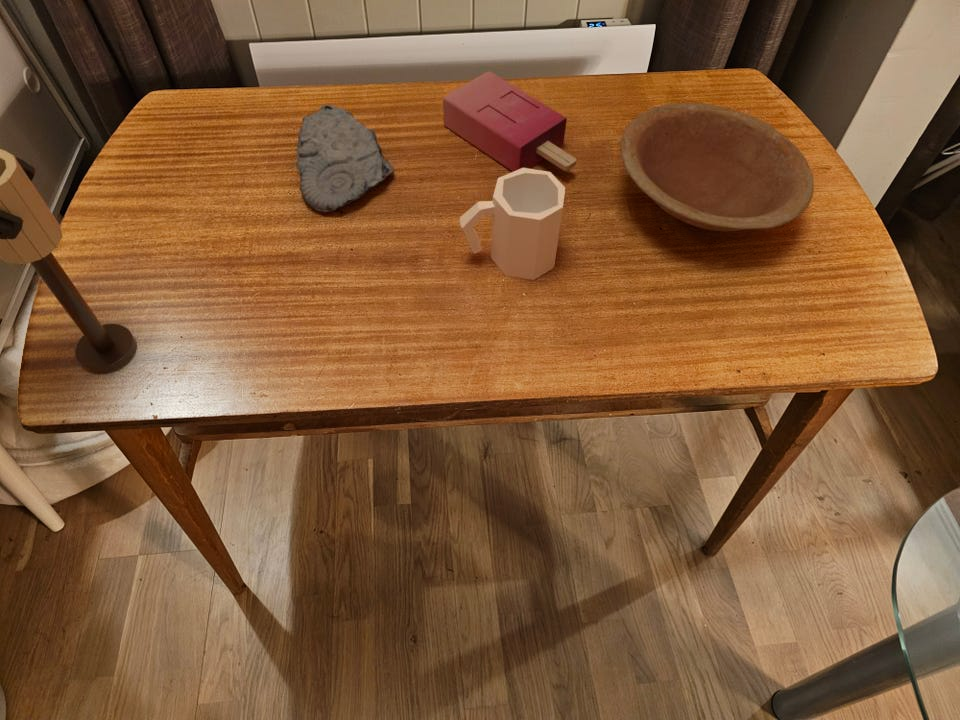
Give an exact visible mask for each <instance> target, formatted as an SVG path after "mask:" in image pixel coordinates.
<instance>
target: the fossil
mask: <svg viewBox="0 0 960 720" xmlns="http://www.w3.org/2000/svg"><path fill="white" fill-rule="evenodd" d="M377 138H378V137H377V134H376V132H375V131H374V130H373V129H370V128H368V127H367V126H365V125H364V124H363V123H361V122H360V121H359V120H358V119H356V118H355V116H354V115H353V114H352V113H350V112H349V111H348V110H347V109H345V108H343V107H339V106H335V105H328V104H322V105H321V107H320V108H319V109H318V110H317V111H316V112H314V113H311V114H308V115H307V116H304V117H302V124H301V126H300V128H299V131H298V135H297V145H296V159H297V161H296V163H295V165H296V169H297V171H298V173H299V174H300V183H299V191H300V193H301V196H302V199H303V200H304V201H305V203H306V204H307V205H308V206H310V207H311V208H312V209H314V210H315V211H319V212H324V213H328V212H333V211H335V210H338V209H341V208H343V207H344V206H346V205H348V204H350V203H352V202H354V201H356V200H358V199H359V198H361V197H362V196H364V195H365V194H366V193H368V192H369V190H370V189H373V187H376V186H377V185H379V184H380V183H382V182H383V181H384V180H385V179H386V178H387V177H388V176H390V175H391V174H392V173H393V172H395V171H394V169H395V167H394V166H393V165H391V163H390V161H389V160H388V159H386V158H385V156H384V154H383V153H382V147H381V145H380V144H379V143H378V141H377Z"/></svg>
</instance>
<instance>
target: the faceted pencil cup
mask: <svg viewBox="0 0 960 720" xmlns="http://www.w3.org/2000/svg"><path fill="white" fill-rule="evenodd" d="M14 156H15V155H13V154H12V153H10V152H9V151H7V150H4V149H1V148H0V210H2V211H5V212H7V213H10V214H13V215H15V216H18V217H20V218H22V219H23V226H22V229H21V231H20V232H19V234H18V235H17V237H16V238H15V239H7V240H5V239H0V260H1V261H3V262H4V263H6V264H9V265H28V264H31V262H34V261H37V260H40V259H42V258H44V257H45V256H47V255H48V254H49V253H51V252H54V251H55V250H56V249H57V248H59V245H60V243H61V241H62V239H63V231H62V228H61V225H60V223H59V222H58V220H57V218H56V216H54V214H53V213H52V211H51V209H50V208H49V207H48V205H47V203H46V202H45V201H44V199H43V197H42V196H41V194H40V193H39V191H38V190H37V188H36V186H35V185H34V184H33V182H32V181H30V179H29V178H28V176H27V175H26V173H25V172H24V170H23V169H22V167H21V166H20V164H19V163H18V161H17V160H16V158H15V157H16V156H15V157H14Z"/></svg>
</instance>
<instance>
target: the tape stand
mask: <svg viewBox="0 0 960 720" xmlns="http://www.w3.org/2000/svg"><path fill="white" fill-rule="evenodd" d="M52 252H53V251H52ZM52 252H51V253H49V254H48V255H47V256H45V257H44V258H42V259H40V260H37V261H34V262H31V263H30V266H31V267H32V268H33V269H34V271H35V272H36V273H37V275H38V276H39V277H40V278H41V280H42V282H43V283H44V284H45V285H46V286H47V288H48V289H49V291H50V292H51V294H52V295H53V296H54V297H55V299H56V300H57V301H58V302H59V304H60V305H61V307H62V308H63V309H64V310H65V312H66V313H67V315H68V316H69V318H70V319H71V320H72V322H73V323H74V324H75V326H76V327H77V328H78V329H79V331H80V332H81V334H82V336H81V337H80V338H79V339H78V341H77V343H76V346H75V349H74V356H75V360H77V362H78V363H79V365H80V366H81V367H82V368H83V369H84V370H85V371H86V372H89V373H91V374H94V375H106V374H111V373H114V372H117V371H118V370H121V369H122V368H124V367H125V366H126V365H128V364H129V363H130V362H131V360H132V359H133V358H134V357H135V354H136V352H137V347H138V345H137V344H138V343H137V340H136V337H134V335H133V333H132V332H131V330H130V329H129V328H128V327H126V326H125V325H122V324H119V323H105V324H102V323H101V321H100V320H99V318H98V317H97V315H96V314H95V313H94V311H93V310H92V309H91V307H90V306H89V303H87V301H86V300H85V298H84V297H83V295H82V294H81V293H80V291H79V290H78V288H77V287H76V285H75V284H74V283H73V281H72V279H71V278H70V277H69V276H68V274H67V272H66V271H65V269H64V268H63V267H62V265H61V264H60V262H59V261H58V260H57V258H56V257H55V255H54V254H53V253H52Z"/></svg>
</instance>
